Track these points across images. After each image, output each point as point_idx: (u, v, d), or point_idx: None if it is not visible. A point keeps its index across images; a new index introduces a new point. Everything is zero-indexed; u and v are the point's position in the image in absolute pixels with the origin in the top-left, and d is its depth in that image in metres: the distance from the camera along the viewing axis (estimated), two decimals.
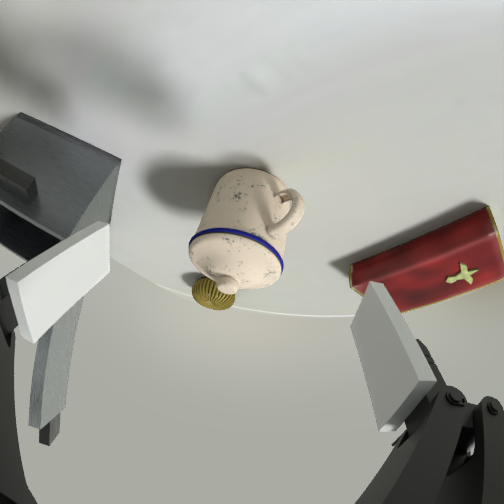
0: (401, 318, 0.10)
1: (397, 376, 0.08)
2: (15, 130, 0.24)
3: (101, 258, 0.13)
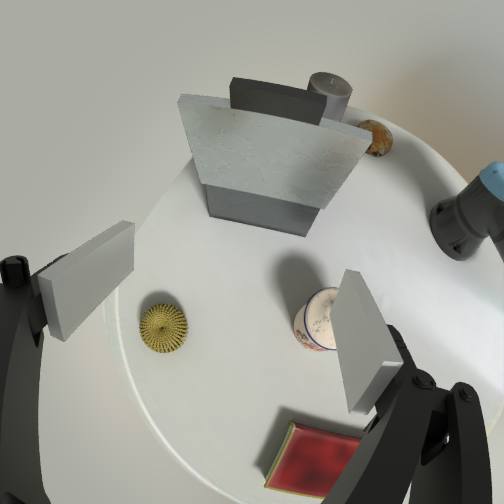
0: (374, 303, 0.11)
1: (365, 358, 0.09)
2: None
3: (126, 257, 0.13)
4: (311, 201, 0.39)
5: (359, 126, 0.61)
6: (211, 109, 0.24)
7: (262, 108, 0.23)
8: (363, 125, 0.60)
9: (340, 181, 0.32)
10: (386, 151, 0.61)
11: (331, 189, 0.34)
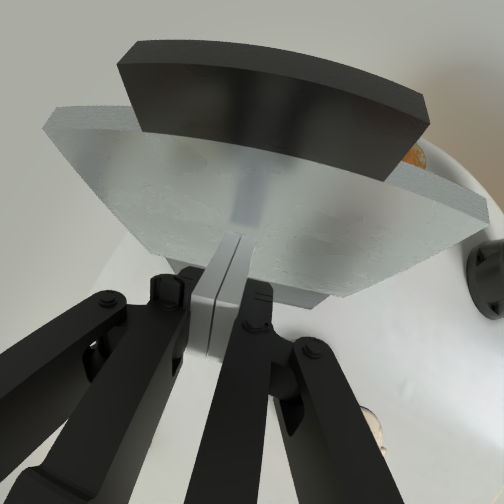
0: (250, 261, 0.12)
1: None
2: None
3: None
4: (325, 290, 0.24)
5: None
6: (104, 137, 0.09)
7: (223, 127, 0.08)
8: None
9: (386, 275, 0.17)
10: None
11: (364, 282, 0.19)
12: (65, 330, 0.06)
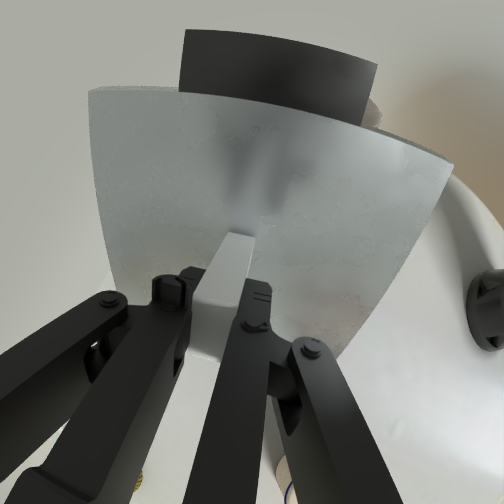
0: (249, 261, 0.12)
1: None
2: None
3: None
4: None
5: None
6: (142, 100, 0.11)
7: (244, 83, 0.10)
8: None
9: (380, 290, 0.16)
10: None
11: (357, 315, 0.18)
12: (66, 330, 0.06)
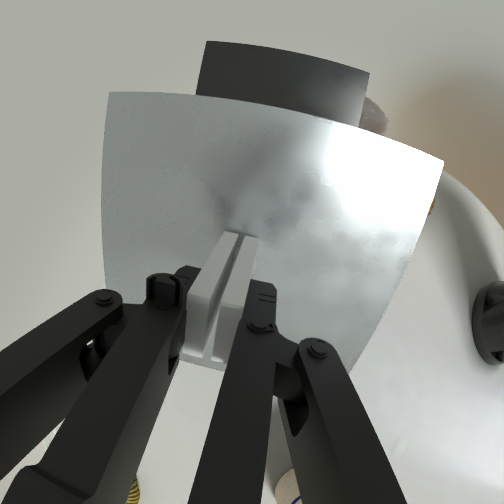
0: None
1: None
2: None
3: (231, 267, 0.15)
4: None
5: None
6: (160, 102, 0.13)
7: (255, 88, 0.12)
8: None
9: (384, 299, 0.16)
10: None
11: (362, 330, 0.17)
12: (62, 329, 0.06)
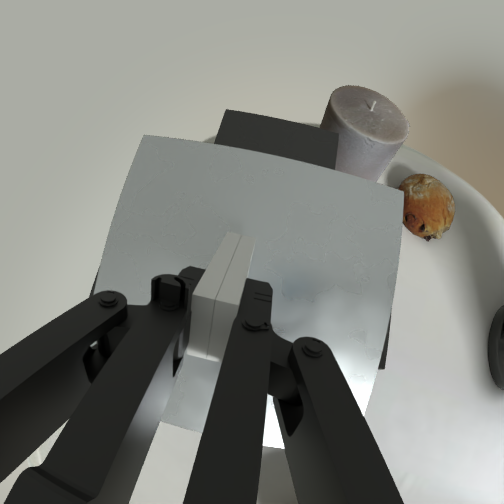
0: (250, 261, 0.12)
1: None
2: None
3: None
4: None
5: (407, 187, 0.35)
6: (185, 146, 0.18)
7: (259, 142, 0.18)
8: (414, 186, 0.35)
9: (383, 322, 0.16)
10: (444, 230, 0.35)
11: (367, 362, 0.16)
12: (66, 330, 0.06)
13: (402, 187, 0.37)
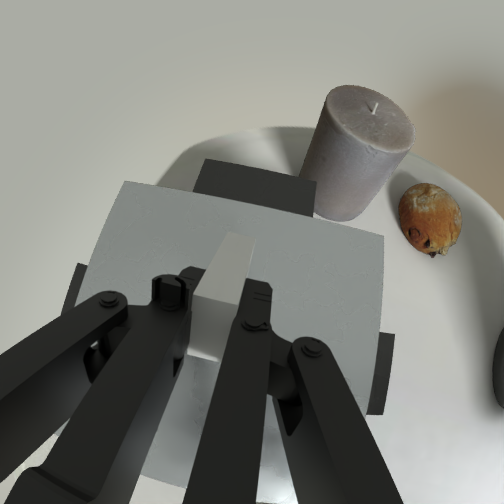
0: (249, 261, 0.12)
1: None
2: None
3: None
4: None
5: (411, 199, 0.32)
6: (164, 194, 0.18)
7: (237, 191, 0.19)
8: (418, 198, 0.31)
9: (368, 368, 0.15)
10: (449, 245, 0.32)
11: None
12: (66, 330, 0.06)
13: (405, 198, 0.34)
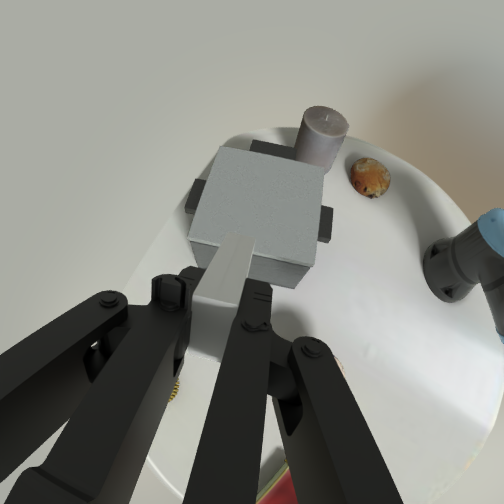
0: (249, 261, 0.12)
1: None
2: None
3: None
4: (300, 251, 0.41)
5: (355, 166, 0.61)
6: (238, 151, 0.47)
7: (266, 151, 0.47)
8: (359, 165, 0.60)
9: (318, 209, 0.43)
10: (383, 192, 0.61)
11: (313, 223, 0.42)
12: (66, 330, 0.06)
13: (353, 166, 0.62)
